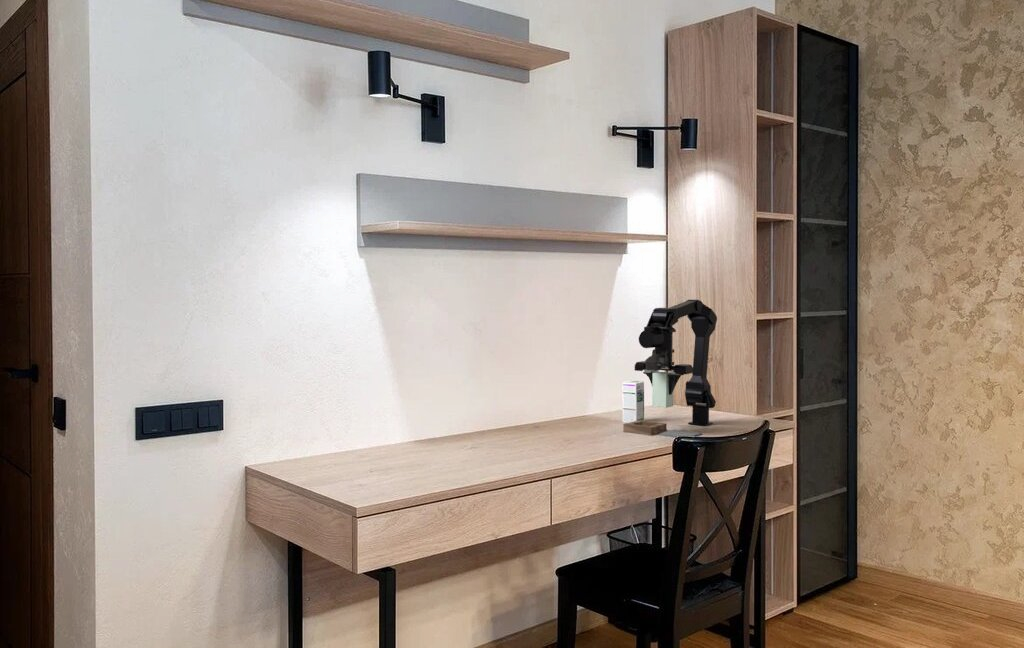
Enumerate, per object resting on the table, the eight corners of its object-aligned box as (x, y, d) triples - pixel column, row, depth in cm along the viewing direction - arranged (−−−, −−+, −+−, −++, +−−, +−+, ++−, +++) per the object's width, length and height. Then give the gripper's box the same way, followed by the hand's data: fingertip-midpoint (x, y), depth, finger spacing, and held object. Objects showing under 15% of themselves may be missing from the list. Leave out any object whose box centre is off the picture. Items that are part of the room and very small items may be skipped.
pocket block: (639, 427, 289) (639, 420, 289) (666, 431, 283) (666, 423, 283) (623, 431, 281) (623, 424, 281) (651, 435, 274) (651, 427, 274)
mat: (673, 430, 283) (673, 429, 283) (701, 434, 277) (701, 432, 277) (659, 435, 275) (659, 433, 275) (687, 438, 269) (687, 437, 269)
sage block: (659, 404, 282) (660, 371, 281) (673, 406, 279) (673, 372, 278) (652, 406, 278) (652, 372, 278) (665, 407, 275) (666, 374, 274)
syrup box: (636, 424, 295) (637, 382, 295) (621, 422, 299) (622, 381, 298) (644, 422, 300) (644, 381, 299) (629, 420, 303) (630, 380, 303)
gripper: (626, 346, 277) (625, 394, 278) (677, 349, 265) (676, 399, 266) (643, 344, 286) (642, 390, 287) (694, 347, 274) (693, 395, 275)
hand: (662, 393), depth 278 cm, fingers closed on sage block, 5 cm apart
